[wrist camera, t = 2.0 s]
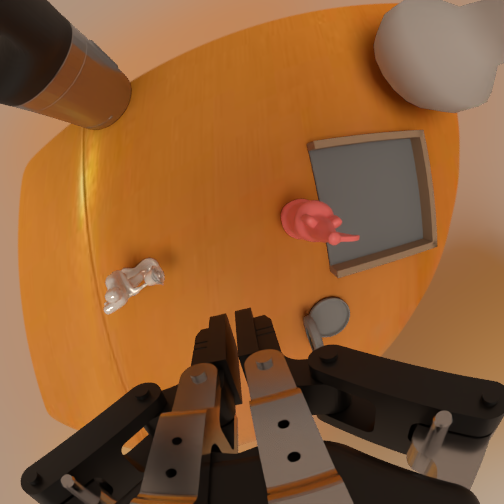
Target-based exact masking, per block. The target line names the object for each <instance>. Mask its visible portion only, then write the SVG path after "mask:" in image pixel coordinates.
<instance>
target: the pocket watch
mask: <svg viewBox="0 0 504 504" xmlns="http://www.w3.org/2000/svg"><path fill="white" fill-rule="evenodd" d="M349 317H350V310H349V307H348V305H347V304H346V303H345V302H344V301H343V300H341V299H339V298H335V297H330V298H326V299H323V300H321V301H319V302H318V303H317V304H316V305H315V306H314V307H313V308H312V310H311V311H310V314H309V315H307V316H305V317H304V318H303V320H304V326H305V330H306V334H307V337H308V340H309V343H310V345H311V348H312V351H314V350H315V349H317V348H319V347H322V346H324V345H323V341H322V338H321V337H331V336H334V335H336V334H338V333H339V332H341V331H342V330H343V329H344V328H345V326H346V325H347V323H348V321H349Z"/></svg>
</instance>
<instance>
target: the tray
mask: <svg viewBox="0 0 504 504" xmlns="http://www.w3.org/2000/svg"><path fill="white" fill-rule="evenodd" d="M307 148H308V152H309V156H310V161H311V165H312V170H313V174H314V179H315V184H316V189H317V194H318V199H319V201H321V202H324V203H326V204H327V205H328V206H329V207H330V208H331V209H332V211H333V213H334V215H336V216H338V217H339V218H341V220H342V224H341V225H340V226H339V227H338V228H336V229H335V230H336V232H340V233H345V234H351V235H359V236H360V237H359V240H358V241H351V242H340V243H339V244H337V245H331V244H329V243H328V242H326V244H327V251H328V257H329V264H330V271H331V272H332V273H333V274H334V275H335V276H336V277H337V278H340V277H344V276H347V275H351V274H354V273H357V272H361V271H364V270H367V269H370V268H374V267H377V266H380V265H383V264H386V263H390V262H393V261H396V260H399V259H402V258H405V257H408V256H411V255H414V254H417V253H420V252H423V251H426V250H429V249H432V248H435V247H437V227H436V212H435V201H434V192H433V183H432V176H431V169H430V162H429V157H428V151H427V146H426V140H425V136H424V131H423V130H412V131H396V132H384V133H373V134H363V135H354V136H346V137H338V138H331V139H324V140H317V141H313V142H310V143H308V144H307Z"/></svg>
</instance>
